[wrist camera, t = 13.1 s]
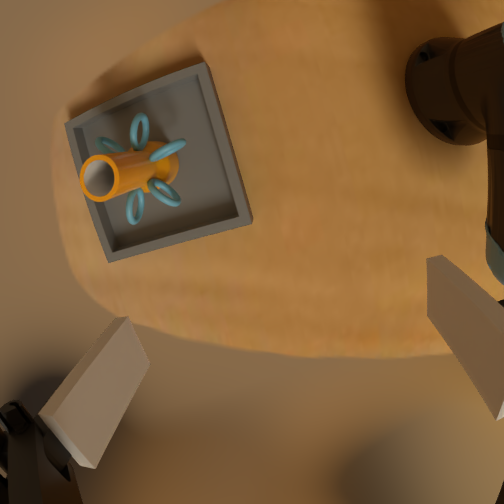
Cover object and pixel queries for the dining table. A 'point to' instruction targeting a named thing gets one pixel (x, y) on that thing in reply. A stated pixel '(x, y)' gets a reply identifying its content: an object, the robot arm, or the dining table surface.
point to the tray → (190, 164)
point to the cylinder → (133, 170)
